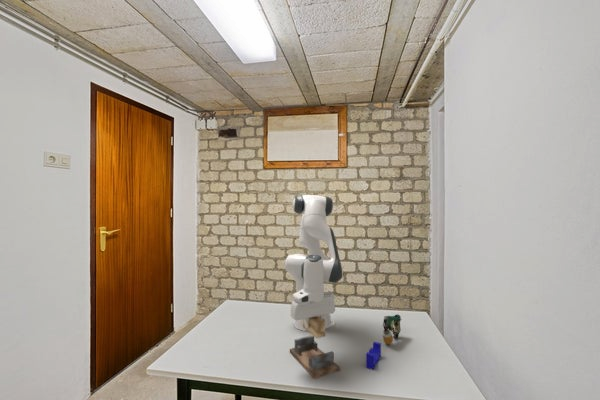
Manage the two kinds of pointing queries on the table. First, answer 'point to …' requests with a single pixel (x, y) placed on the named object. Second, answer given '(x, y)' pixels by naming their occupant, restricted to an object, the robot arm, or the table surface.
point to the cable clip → (373, 355)
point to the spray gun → (391, 328)
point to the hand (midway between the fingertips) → (313, 326)
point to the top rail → (316, 327)
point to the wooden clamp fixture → (313, 357)
